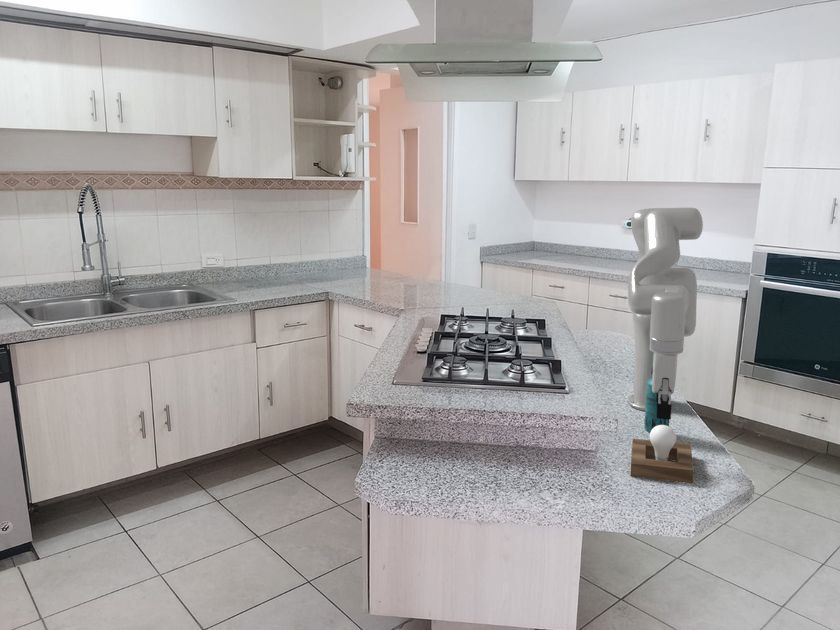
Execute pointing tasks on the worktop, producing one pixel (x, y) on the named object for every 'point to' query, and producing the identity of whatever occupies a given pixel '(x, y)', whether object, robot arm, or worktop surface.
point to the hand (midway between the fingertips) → (663, 410)
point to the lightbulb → (662, 441)
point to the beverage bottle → (652, 409)
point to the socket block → (662, 462)
